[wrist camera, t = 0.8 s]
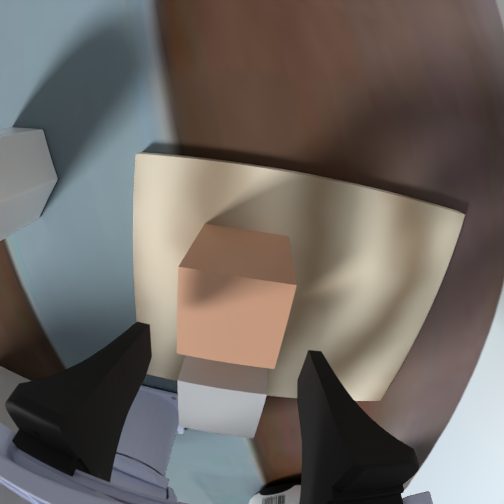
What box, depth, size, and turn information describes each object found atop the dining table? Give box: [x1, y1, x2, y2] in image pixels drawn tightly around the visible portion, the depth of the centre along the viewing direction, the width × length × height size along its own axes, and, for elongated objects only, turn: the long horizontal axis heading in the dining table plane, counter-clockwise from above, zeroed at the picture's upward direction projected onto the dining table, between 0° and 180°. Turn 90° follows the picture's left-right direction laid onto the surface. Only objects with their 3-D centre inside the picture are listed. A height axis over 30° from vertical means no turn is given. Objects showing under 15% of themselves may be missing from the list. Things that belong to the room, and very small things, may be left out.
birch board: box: [133, 152, 465, 401], centre depth 23 cm, size 24×20×1 cm
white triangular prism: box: [0, 366, 32, 504], centre depth 21 cm, size 19×15×28 cm
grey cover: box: [177, 355, 267, 438], centre depth 21 cm, size 6×6×6 cm
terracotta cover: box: [177, 224, 297, 369], centre depth 18 cm, size 6×6×6 cm
